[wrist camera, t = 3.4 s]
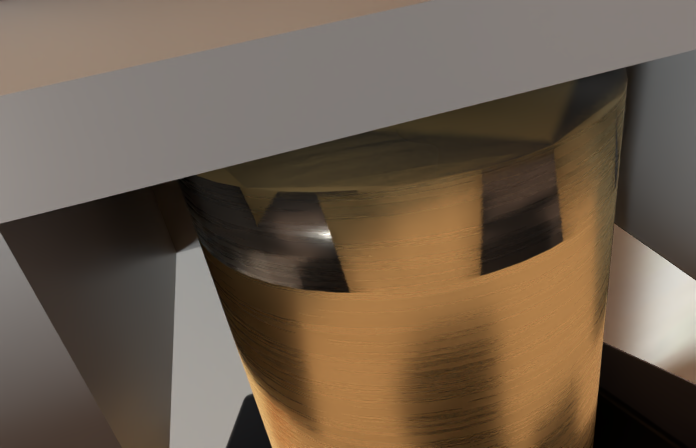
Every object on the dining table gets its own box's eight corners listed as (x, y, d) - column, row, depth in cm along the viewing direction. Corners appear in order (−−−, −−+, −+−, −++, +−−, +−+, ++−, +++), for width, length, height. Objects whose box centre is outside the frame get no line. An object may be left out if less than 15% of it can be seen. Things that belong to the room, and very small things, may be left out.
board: (561, 533, 18) (572, 551, 17) (254, 647, 16) (257, 670, 16) (603, -200, 8) (632, -208, 8) (-123, -71, 7) (-148, -71, 6)
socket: (556, 116, 10) (959, 327, 5) (95, 236, 9) (-37, 680, 4) (563, -111, 8) (1215, -172, 3) (-13, 3, 7) (-563, 221, 2)
